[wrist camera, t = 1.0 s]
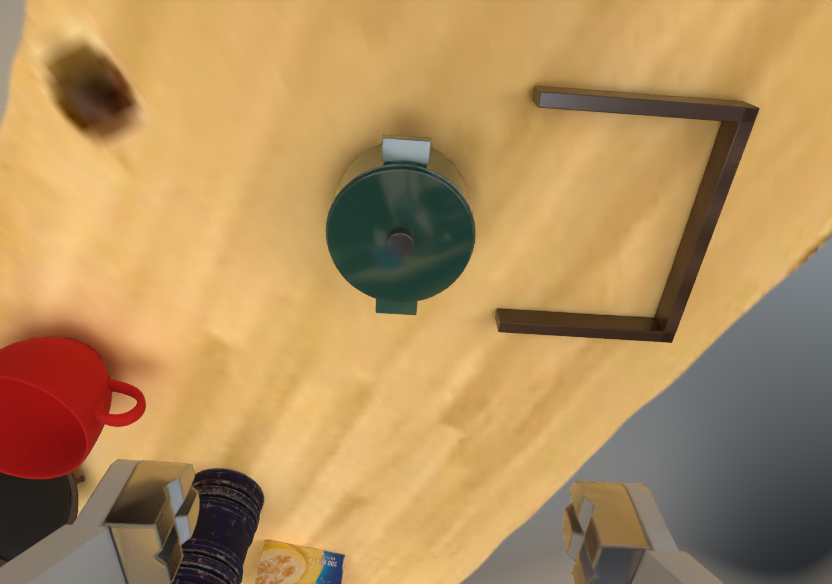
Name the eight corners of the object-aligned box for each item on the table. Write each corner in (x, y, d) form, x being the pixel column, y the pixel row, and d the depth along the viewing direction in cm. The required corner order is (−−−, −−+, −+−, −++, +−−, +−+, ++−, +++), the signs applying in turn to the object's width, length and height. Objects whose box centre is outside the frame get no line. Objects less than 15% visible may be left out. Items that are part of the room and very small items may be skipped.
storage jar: (239, 531, 73) (200, 652, 60) (171, 498, 70) (114, 619, 57) (280, 491, 69) (247, 612, 56) (210, 455, 66) (159, 574, 53)
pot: (335, 115, 46) (320, 141, 39) (479, 125, 46) (490, 153, 39) (336, 277, 53) (324, 323, 46) (459, 285, 54) (465, 332, 47)
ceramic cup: (184, 409, 62) (146, 480, 53) (33, 408, 62) (-29, 479, 53) (157, 312, 55) (110, 375, 47) (-11, 311, 55) (-90, 373, 47)
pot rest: (534, 85, 44) (540, 91, 42) (743, 101, 45) (760, 108, 43) (494, 318, 56) (498, 332, 53) (662, 328, 56) (672, 342, 54)
